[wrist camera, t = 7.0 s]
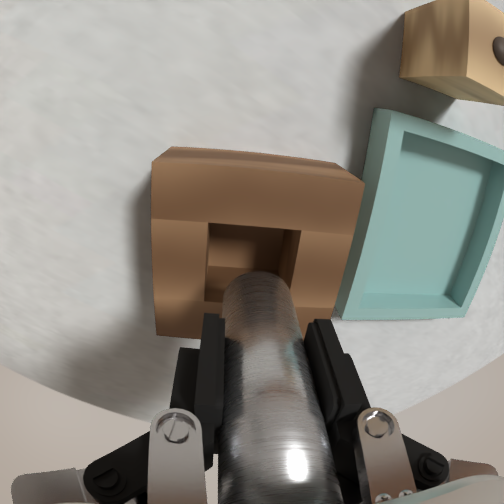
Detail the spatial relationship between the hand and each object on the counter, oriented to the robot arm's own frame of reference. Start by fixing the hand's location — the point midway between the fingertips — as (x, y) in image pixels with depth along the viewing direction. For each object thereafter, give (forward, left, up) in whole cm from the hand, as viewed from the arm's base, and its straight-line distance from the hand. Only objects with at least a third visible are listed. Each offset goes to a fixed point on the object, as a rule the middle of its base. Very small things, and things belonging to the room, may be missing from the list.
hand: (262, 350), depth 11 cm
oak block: (-14, +11, -11) cm, 21 cm away
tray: (-2, +13, -11) cm, 17 cm away
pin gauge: (0, 0, -3) cm, 3 cm away
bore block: (0, 0, -11) cm, 11 cm away
